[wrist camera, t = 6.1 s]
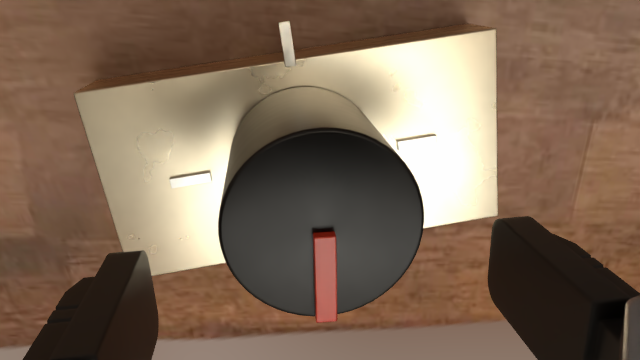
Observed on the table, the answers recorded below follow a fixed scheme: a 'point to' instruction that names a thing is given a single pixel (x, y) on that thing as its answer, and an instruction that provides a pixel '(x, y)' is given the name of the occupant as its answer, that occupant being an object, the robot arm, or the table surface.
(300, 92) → the hob knob
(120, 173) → the panel
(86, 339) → the robot arm
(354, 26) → the table surface
